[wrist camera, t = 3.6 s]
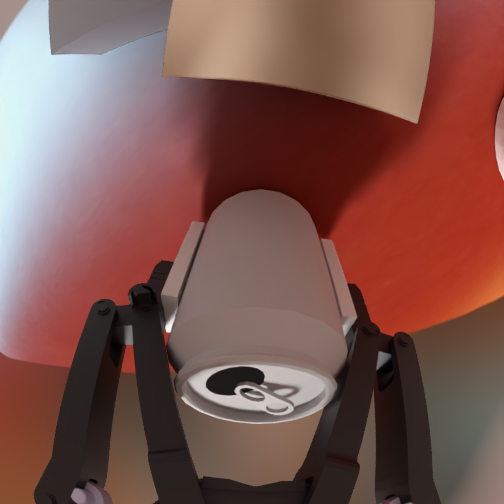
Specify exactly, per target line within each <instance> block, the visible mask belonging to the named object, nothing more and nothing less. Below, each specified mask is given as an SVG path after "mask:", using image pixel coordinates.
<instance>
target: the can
mask: <svg viewBox="0 0 504 504" xmlns="http://www.w3.org/2000/svg"><path fill="white" fill-rule="evenodd" d="M166 349H167V355H168V361H169V363H170V364H171V366H172V367H173V369H174V370H175V372H176V373H177V376H176V377H175V379H174V385H175V390H176V392H177V394H178V395H179V396H180V397H181V398H182V399H183V400H184V401H185V403H186V404H188V405H190V406H192V407H193V408H195V409H196V410H198V411H200V412H202V413H205V414H208V415H210V416H213V417H216V418H220V419H224V420H229V421H234V422H242V423H254V424H259V423H260V424H261V423H277V422H284V421H291V420H295V419H299V418H302V417H305V416H308V415H311V414H313V413H314V412H317V411H318V410H320V409H322V408H324V407H325V406H326V405H327V404H328V403H329V402H330V401H331V400H332V399H333V398H334V397H335V394H336V390H337V383H336V381H335V378H336V377H337V375H338V374H339V373H340V372H341V370H342V369H343V368H344V366H345V363H346V358H347V353H348V350H347V345H346V340H345V336H344V331H343V327H342V323H341V319H340V314H339V310H338V306H337V302H336V298H335V294H334V291H333V287H332V283H331V279H330V275H329V272H328V268H327V265H326V261H325V258H324V254H323V251H322V247H321V244H320V240H319V237H318V234H317V230H316V227H315V225H314V223H313V221H312V218H311V216H310V214H309V213H308V212H307V211H306V209H305V208H304V207H303V206H302V205H301V204H300V203H299V202H298V201H296V200H294V199H292V198H290V197H289V196H287V195H285V194H283V193H281V192H275V191H269V190H263V189H259V190H252V191H244V192H240V193H238V194H236V195H234V196H232V197H230V198H228V199H226V200H224V201H223V202H222V203H221V204H220V205H219V206H218V207H217V208H216V209H215V210H214V211H213V212H212V214H211V217H210V219H209V221H208V223H207V225H206V227H205V230H204V233H203V236H202V239H201V241H200V244H199V247H198V250H197V253H196V255H195V258H194V261H193V264H192V267H191V270H190V273H189V276H188V279H187V282H186V285H185V288H184V291H183V294H182V297H181V300H180V303H179V306H178V309H177V312H176V315H175V319H174V322H173V325H172V328H171V332H170V335H169V338H168V342H167V345H166Z"/></svg>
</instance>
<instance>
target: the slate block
mask: <svg viewBox="0 0 504 504" xmlns="http://www.w3.org/2000/svg"><path fill="white" fill-rule="evenodd" d="M172 3H173V0H49V32H50V46H51V55H55V54H98V55H101V54H103V53H106V52H108V51H110V50H112V49H114V48H117V47H119V46H122V45H124V44H126V43H129V42H131V41H134V40H137V39H139V38H142V37H145V36H148V35H151V34H154V33H157V32H160V31H163V30H166V29H168V25H169V19H170V13H171V8H172Z"/></svg>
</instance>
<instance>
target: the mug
mask: <svg viewBox="0 0 504 504" xmlns="http://www.w3.org/2000/svg"><path fill="white" fill-rule="evenodd" d="M495 151H496V158H497V162H498V167H499V171H500V173H501V175H502V177H503V180H504V98H503V99H502V101H501V104H500V107H499V110H498V113H497V119H496V125H495Z"/></svg>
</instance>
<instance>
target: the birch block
mask: <svg viewBox="0 0 504 504" xmlns="http://www.w3.org/2000/svg"><path fill="white" fill-rule="evenodd" d="M434 14H435V0H173V3H172V8H171V13H170V19H169V25H168V32H167V39H166V46H165V54H164V63H163V72H162V77H182V78H198V79H218V80H232V81H242V82H252V83H260V84H267V85H274V86H280V87H286V88H291V89H297V90H302V91H307V92H312V93H316V94H320V95H325V96H329V97H333V98H337V99H341V100H344V101H348V102H351V103H355V104H358V105H361V106H365V107H368V108H371V109H375V110H378V111H381V112H385V113H388V114H391V115H394V116H397V117H400V118H402V119H405V120H408V121H411V122H413V123H416V124H417V123H418V119H419V115H420V110H421V106H422V101H423V96H424V91H425V86H426V81H427V75H428V69H429V63H430V56H431V48H432V39H433V29H434Z"/></svg>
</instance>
